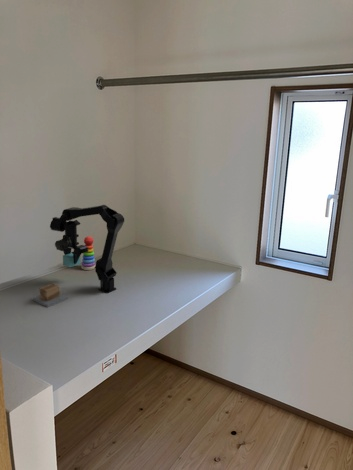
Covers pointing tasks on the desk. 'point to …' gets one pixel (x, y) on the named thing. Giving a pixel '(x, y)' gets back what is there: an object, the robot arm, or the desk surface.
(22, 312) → the desk surface
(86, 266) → the stacking toy
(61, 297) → the baseplate
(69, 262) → the teal brick
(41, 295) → the walnut brick
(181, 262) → the desk surface
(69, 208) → the robot arm
